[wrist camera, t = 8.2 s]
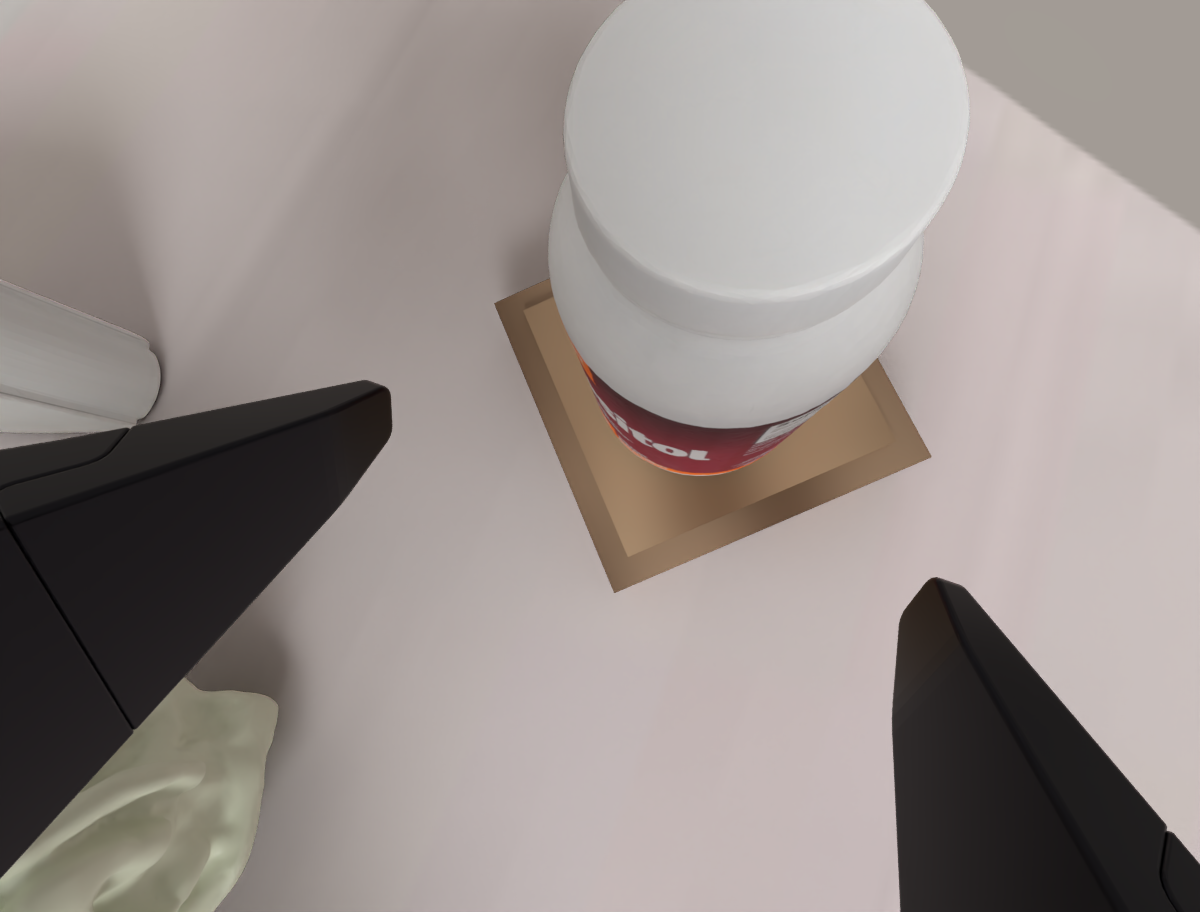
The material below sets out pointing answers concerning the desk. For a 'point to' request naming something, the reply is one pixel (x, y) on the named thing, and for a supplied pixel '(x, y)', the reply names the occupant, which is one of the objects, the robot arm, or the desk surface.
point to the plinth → (684, 502)
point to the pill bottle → (747, 210)
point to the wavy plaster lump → (157, 814)
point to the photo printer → (69, 368)
